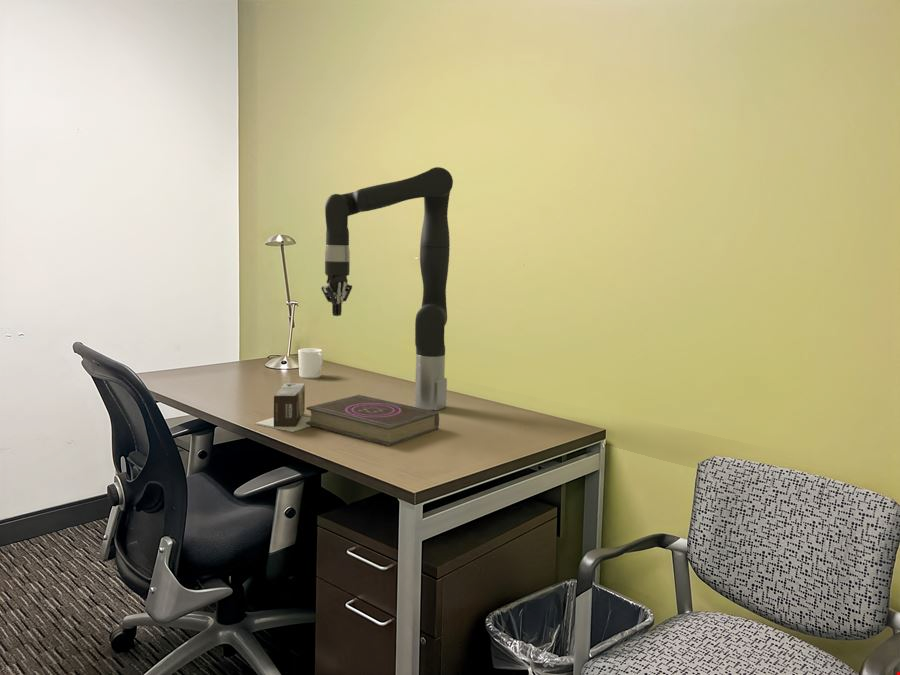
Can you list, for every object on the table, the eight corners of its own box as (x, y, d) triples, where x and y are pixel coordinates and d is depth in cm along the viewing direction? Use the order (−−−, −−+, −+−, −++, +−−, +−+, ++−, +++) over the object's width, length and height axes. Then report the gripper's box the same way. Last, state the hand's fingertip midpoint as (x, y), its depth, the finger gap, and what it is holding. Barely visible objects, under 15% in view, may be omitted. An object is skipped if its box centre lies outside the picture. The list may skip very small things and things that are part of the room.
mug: (293, 376, 264) (293, 350, 263) (310, 373, 271) (310, 347, 270) (313, 380, 258) (313, 353, 256) (330, 377, 265) (330, 350, 264)
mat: (329, 419, 204) (329, 418, 204) (292, 432, 190) (293, 430, 190) (293, 412, 210) (293, 411, 210) (255, 424, 196) (255, 422, 196)
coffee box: (305, 412, 209) (296, 428, 193) (284, 412, 209) (273, 427, 193) (305, 382, 208) (296, 396, 192) (283, 382, 207) (272, 395, 192)
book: (306, 424, 197) (306, 407, 196) (359, 410, 215) (360, 394, 214) (388, 446, 179) (389, 427, 179) (439, 428, 197) (439, 411, 197)
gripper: (333, 260, 207) (333, 318, 209) (359, 260, 218) (359, 314, 220) (313, 259, 210) (313, 316, 213) (340, 259, 222) (340, 313, 224)
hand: (336, 315), depth 217 cm, fingers closed
